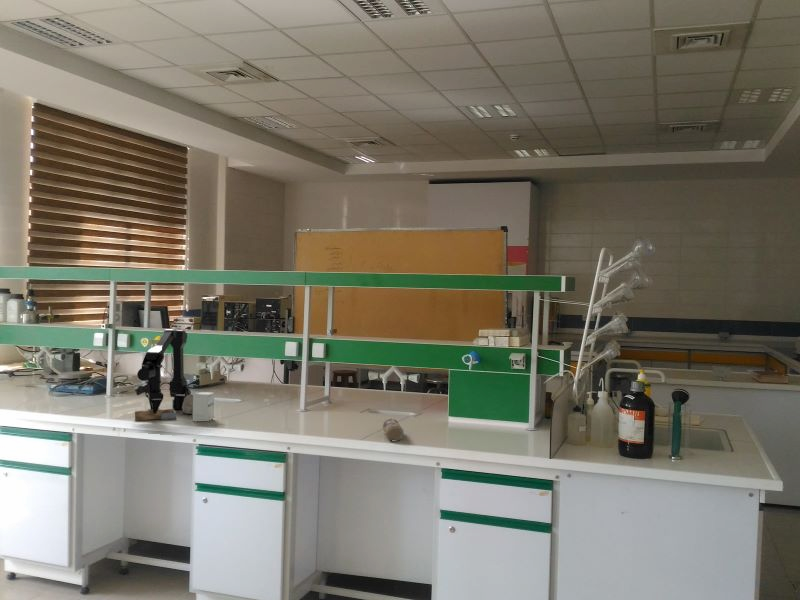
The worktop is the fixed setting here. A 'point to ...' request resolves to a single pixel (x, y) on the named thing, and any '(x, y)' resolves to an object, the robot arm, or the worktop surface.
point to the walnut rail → (151, 413)
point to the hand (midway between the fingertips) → (153, 411)
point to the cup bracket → (168, 415)
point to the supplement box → (203, 406)
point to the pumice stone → (188, 404)
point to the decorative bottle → (393, 429)
